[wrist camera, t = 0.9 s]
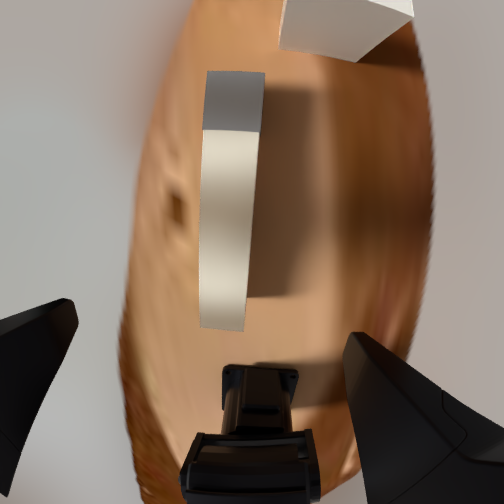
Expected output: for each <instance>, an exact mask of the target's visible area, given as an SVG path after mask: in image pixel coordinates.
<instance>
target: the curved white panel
mask: <svg viewBox="0 0 504 504" xmlns="http://www.w3.org/2000/svg"><path fill="white" fill-rule="evenodd" d="M264 84H265V73H260V72H242V71H207V80H206V90H205V101H204V113H203V126H202V130H204V133H203V148H202V166H201V188H200V222H199V306H200V328H209V329H218V330H228V331H239V332H244V321H245V311H246V300H247V288H248V275H249V263H250V250H251V237H252V225H253V212H254V199H255V187H256V174H257V162H258V150H259V137H260V135H261V123H262V111H263V98H264Z"/></svg>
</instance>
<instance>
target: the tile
mask: <svg viewBox="0 0 504 504" xmlns="http://www.w3.org/2000/svg"><path fill="white" fill-rule="evenodd" d="M413 18H414V12H413V4H412V0H284V2H283V8H282V15H281V21H280V30H279V44H278V49H279V50H288V51H296V52H303V53H310V54H316V55H322V56H327V57H332V58H337V59H342V60H347V61H351V62H355V63H356V62H357V61H358V60H359V59H360V58H362V57H363V56H364V55H365V54H367V53H368V52H369V51H370V50H372V49H373V48H374V47H375V46H377V45H378V44H379V43H381V42H382V41H383V40H384V39H386V38H387V37H388V36H390V35H391V34H392V33H394V32H395V31H396V30H398V29H399V28H400V27H402V26H403V25H404V24H406V23H407V22H409V21H410V20H411V19H413Z"/></svg>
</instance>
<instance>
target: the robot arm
mask: <svg viewBox="0 0 504 504" xmlns="http://www.w3.org/2000/svg"><path fill="white" fill-rule="evenodd" d="M78 324H79V321H78V316H77V313H76V309H75V305H74V302H73V301H72V300H70V299H65V298H61V299H58V300H55V301H52V302H49V303H47V304H44V305H41V306H38V307H35V308H32V309H29V310H27V311H24V312H21V313H18V314H16V315H12V316H10V317H7V318H4V319H1V320H0V493H1V494H2V495H4V496H5V497H8V494H9V491H10V488H11V484H12V481H13V477H14V474H15V471H16V468H17V465H18V462H19V459H20V456H21V452H22V450H23V447H24V445H25V442H26V439H27V437H28V434H29V432H30V429H31V427H32V424H33V422H34V420H35V417H36V415H37V413H38V411H39V408H40V406H41V404H42V402H43V400H44V398H45V396H46V393H47V391H48V389H49V387H50V385H51V383H52V381H53V379H54V377H55V375H56V373H57V371H58V369H59V368H60V366H61V364H62V362H63V360H64V357H65V355H66V353H67V350H68V348H69V346H70V343H71V341H72V339H73V336H74V334H75V332H76V330H77V328H78ZM343 367H344V375H345V383H346V392H347V400H348V405H349V409H350V414H351V418H352V423H353V427H354V432H355V437H356V442H357V447H358V452H359V457H360V462H361V467H362V472H363V478H364V484H365V490H366V496H367V502H368V504H504V428H503V427H501V426H500V425H498V424H496V423H494V422H492V421H491V420H489V419H488V418H486V417H484V416H482V415H481V414H479V413H477V412H476V411H474V410H472V409H471V408H469V407H467V406H466V405H464V404H463V403H461V402H460V401H458V400H457V399H456V398H454V397H453V396H451V395H450V394H448V393H447V392H446V391H444V390H442V389H441V388H440V387H439V386H437V385H436V384H435V383H433V382H432V381H430V380H429V379H428V378H426V377H425V376H423V375H422V374H421V373H420V372H418V371H417V370H415V369H414V368H413V367H411V366H410V365H409V364H407V363H406V362H404V361H403V360H402V359H400V358H399V357H397V356H396V355H395V354H393V353H392V352H391V351H389V350H388V349H386V348H385V347H384V346H382V345H381V344H380V343H378V342H377V341H375V340H374V339H373V338H371V337H370V336H368V335H367V334H366V333H364V332H351V333H350V334H349V337H348V340H347V343H346V346H345V349H344V351H343ZM228 371H230V372H228ZM298 378H299V374H298V371H297V370H288V369H266V368H250V367H238V366H224V367H223V371H222V410H223V411H224V415H223V423H222V430H221V434H205V433H200V432H198V433H197V435H196V437H195V439H194V440H193V442H192V445H191V447H190V450H189V452H188V454H187V457H186V459H185V461H184V464H183V466H182V468H181V471H180V476H179V478H178V481H179V483H180V484H181V492H182V495H183V498H184V499H185V501H187V504H310V503H314V502H319V501H320V496H321V484H320V472H319V465H318V459H317V454H316V449H315V444H314V439H313V434H312V429H304V430H303V431H294V432H293V430H292V417H291V406H290V405H291V402H292V399H293V395H294V392H295V388H296V385H297V381H298Z"/></svg>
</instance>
